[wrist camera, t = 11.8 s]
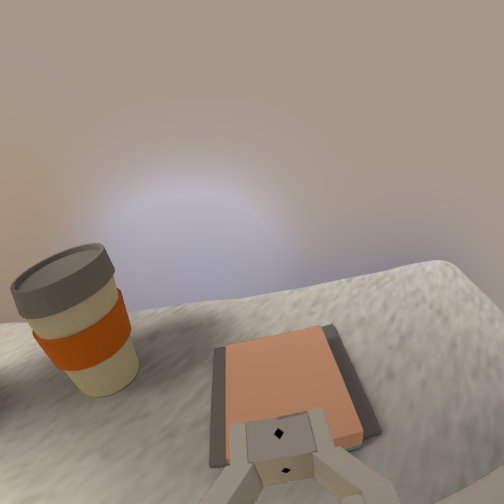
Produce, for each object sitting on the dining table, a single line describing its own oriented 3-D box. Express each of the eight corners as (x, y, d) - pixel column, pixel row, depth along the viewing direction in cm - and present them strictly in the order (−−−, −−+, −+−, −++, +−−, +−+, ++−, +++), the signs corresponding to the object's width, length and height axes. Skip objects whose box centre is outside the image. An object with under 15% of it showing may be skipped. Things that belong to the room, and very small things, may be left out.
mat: (380, 433, 21) (381, 430, 21) (210, 467, 21) (209, 465, 21) (332, 326, 36) (332, 324, 36) (215, 351, 36) (214, 348, 36)
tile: (363, 430, 19) (320, 325, 32) (226, 458, 19) (225, 344, 32) (361, 447, 20) (322, 343, 33) (234, 473, 20) (231, 362, 33)
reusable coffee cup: (70, 421, 27) (-3, 308, 21) (65, 363, 37) (18, 269, 32) (165, 382, 32) (111, 260, 27) (140, 332, 43) (102, 234, 37)
